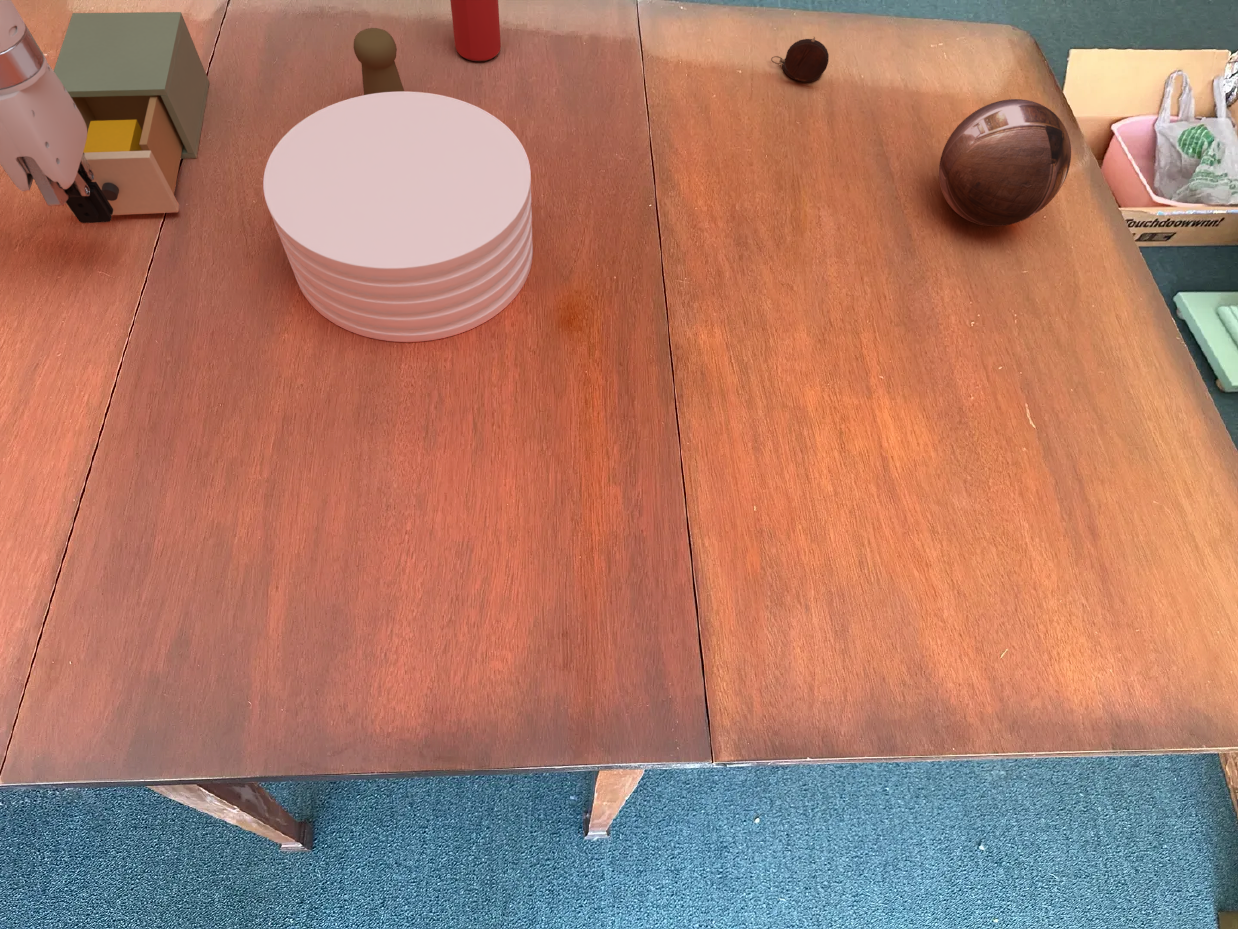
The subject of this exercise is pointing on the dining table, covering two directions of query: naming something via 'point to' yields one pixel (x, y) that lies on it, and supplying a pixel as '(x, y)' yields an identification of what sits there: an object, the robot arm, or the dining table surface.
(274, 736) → the dining table surface
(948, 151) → the wooden sphere
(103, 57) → the cabinet
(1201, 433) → the dining table surface
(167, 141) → the drawer
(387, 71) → the brown knobbed cone
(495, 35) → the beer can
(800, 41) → the compass
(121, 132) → the yellow block
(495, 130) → the plate stack
